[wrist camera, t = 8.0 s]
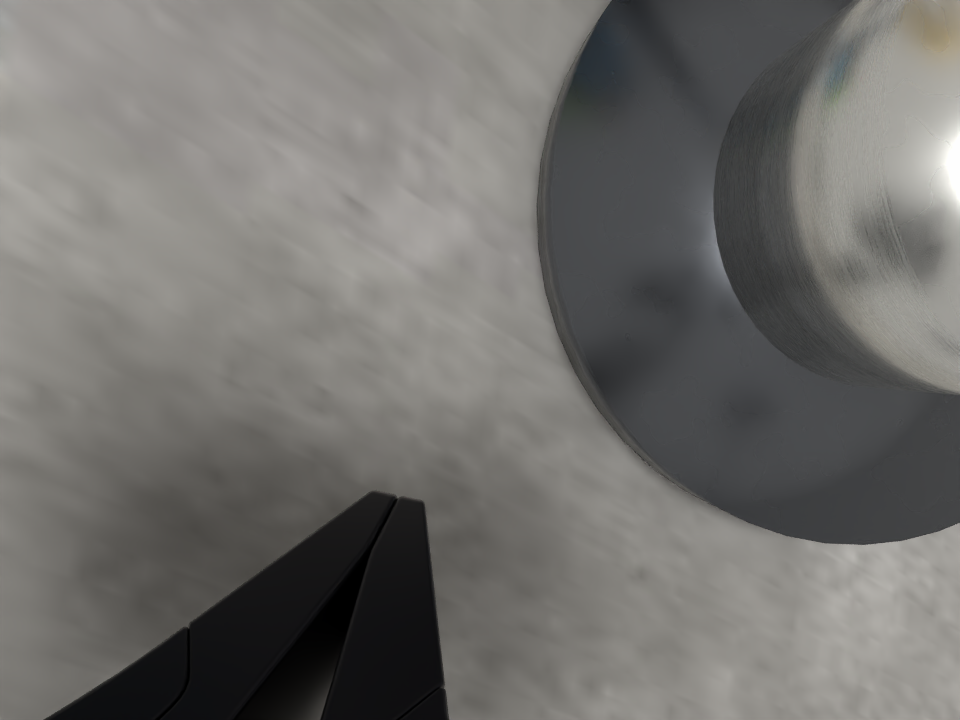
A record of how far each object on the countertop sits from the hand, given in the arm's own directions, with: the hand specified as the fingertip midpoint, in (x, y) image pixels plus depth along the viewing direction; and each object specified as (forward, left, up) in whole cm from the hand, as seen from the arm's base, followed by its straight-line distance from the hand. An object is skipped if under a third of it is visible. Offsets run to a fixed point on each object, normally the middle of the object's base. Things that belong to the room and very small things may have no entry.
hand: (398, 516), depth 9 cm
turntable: (+10, -16, -12) cm, 22 cm away
